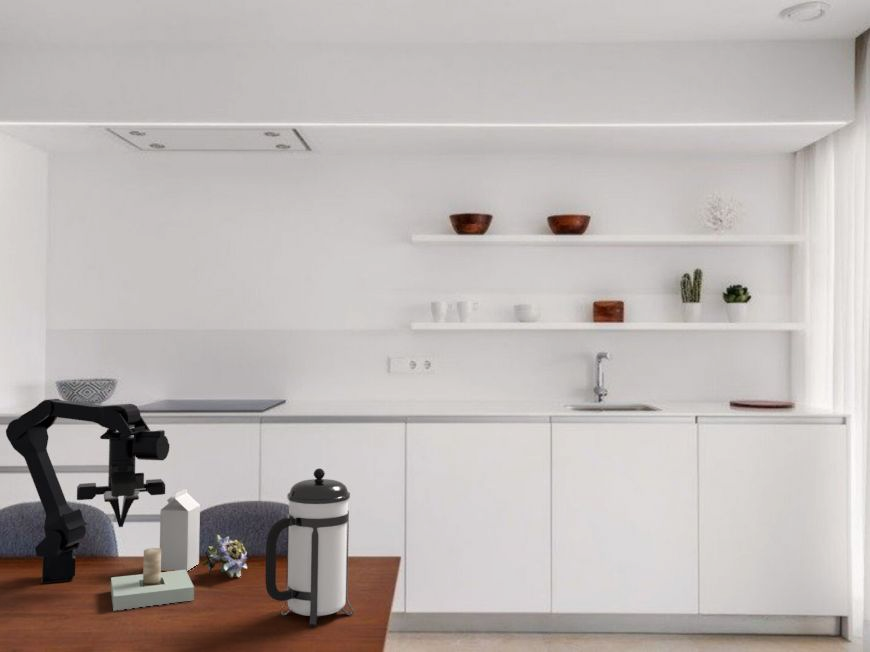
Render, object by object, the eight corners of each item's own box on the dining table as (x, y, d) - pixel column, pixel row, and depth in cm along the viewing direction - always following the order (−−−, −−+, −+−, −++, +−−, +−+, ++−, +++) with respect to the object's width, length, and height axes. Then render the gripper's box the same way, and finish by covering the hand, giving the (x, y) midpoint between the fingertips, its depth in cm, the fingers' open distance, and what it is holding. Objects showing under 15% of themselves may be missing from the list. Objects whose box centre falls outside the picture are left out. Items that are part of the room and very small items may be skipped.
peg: (143, 599, 166) (144, 553, 166) (141, 594, 169) (142, 548, 170) (161, 597, 167) (162, 551, 168) (159, 592, 171) (160, 547, 171)
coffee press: (284, 601, 166) (286, 462, 167) (357, 603, 165) (359, 463, 166) (263, 631, 149) (266, 475, 149) (345, 633, 148) (348, 477, 149)
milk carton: (199, 565, 192) (200, 488, 193) (187, 573, 185) (188, 494, 186) (171, 564, 193) (173, 488, 193) (158, 572, 186) (160, 493, 186)
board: (113, 611, 159) (113, 596, 159) (110, 591, 171) (111, 577, 171) (193, 601, 165) (194, 587, 165) (185, 582, 178) (185, 569, 178)
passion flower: (236, 600, 182) (233, 568, 175) (193, 589, 183) (189, 557, 177) (256, 563, 191) (254, 531, 184) (215, 553, 193) (211, 520, 186)
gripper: (77, 466, 166) (75, 538, 166) (168, 461, 174) (167, 531, 174) (77, 459, 176) (76, 527, 176) (163, 455, 184) (162, 520, 184)
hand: (120, 526), depth 177 cm, fingers closed
